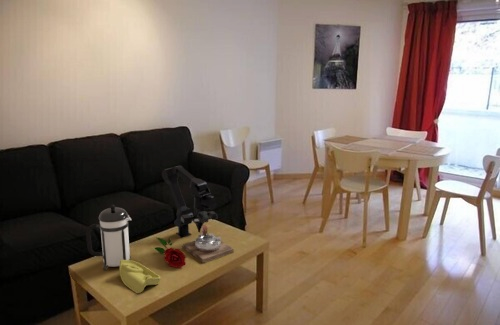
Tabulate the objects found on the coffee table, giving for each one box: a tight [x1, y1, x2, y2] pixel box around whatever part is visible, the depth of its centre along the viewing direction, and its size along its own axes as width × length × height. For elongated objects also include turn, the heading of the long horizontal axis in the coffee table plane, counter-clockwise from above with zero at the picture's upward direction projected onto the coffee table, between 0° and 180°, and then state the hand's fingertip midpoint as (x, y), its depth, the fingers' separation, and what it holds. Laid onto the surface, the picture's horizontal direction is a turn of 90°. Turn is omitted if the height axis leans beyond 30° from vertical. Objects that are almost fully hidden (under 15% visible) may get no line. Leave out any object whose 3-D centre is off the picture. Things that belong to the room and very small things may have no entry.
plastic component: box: [119, 259, 162, 294], centre depth 165 cm, size 20×7×10 cm
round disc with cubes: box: [194, 224, 222, 252], centre depth 195 cm, size 18×13×7 cm
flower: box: [154, 236, 186, 268], centre depth 186 cm, size 9×10×30 cm
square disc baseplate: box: [182, 240, 235, 264], centre depth 194 cm, size 20×18×2 cm
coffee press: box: [85, 204, 132, 271], centre depth 175 cm, size 17×16×30 cm
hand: (199, 232), depth 201 cm, fingers closed
